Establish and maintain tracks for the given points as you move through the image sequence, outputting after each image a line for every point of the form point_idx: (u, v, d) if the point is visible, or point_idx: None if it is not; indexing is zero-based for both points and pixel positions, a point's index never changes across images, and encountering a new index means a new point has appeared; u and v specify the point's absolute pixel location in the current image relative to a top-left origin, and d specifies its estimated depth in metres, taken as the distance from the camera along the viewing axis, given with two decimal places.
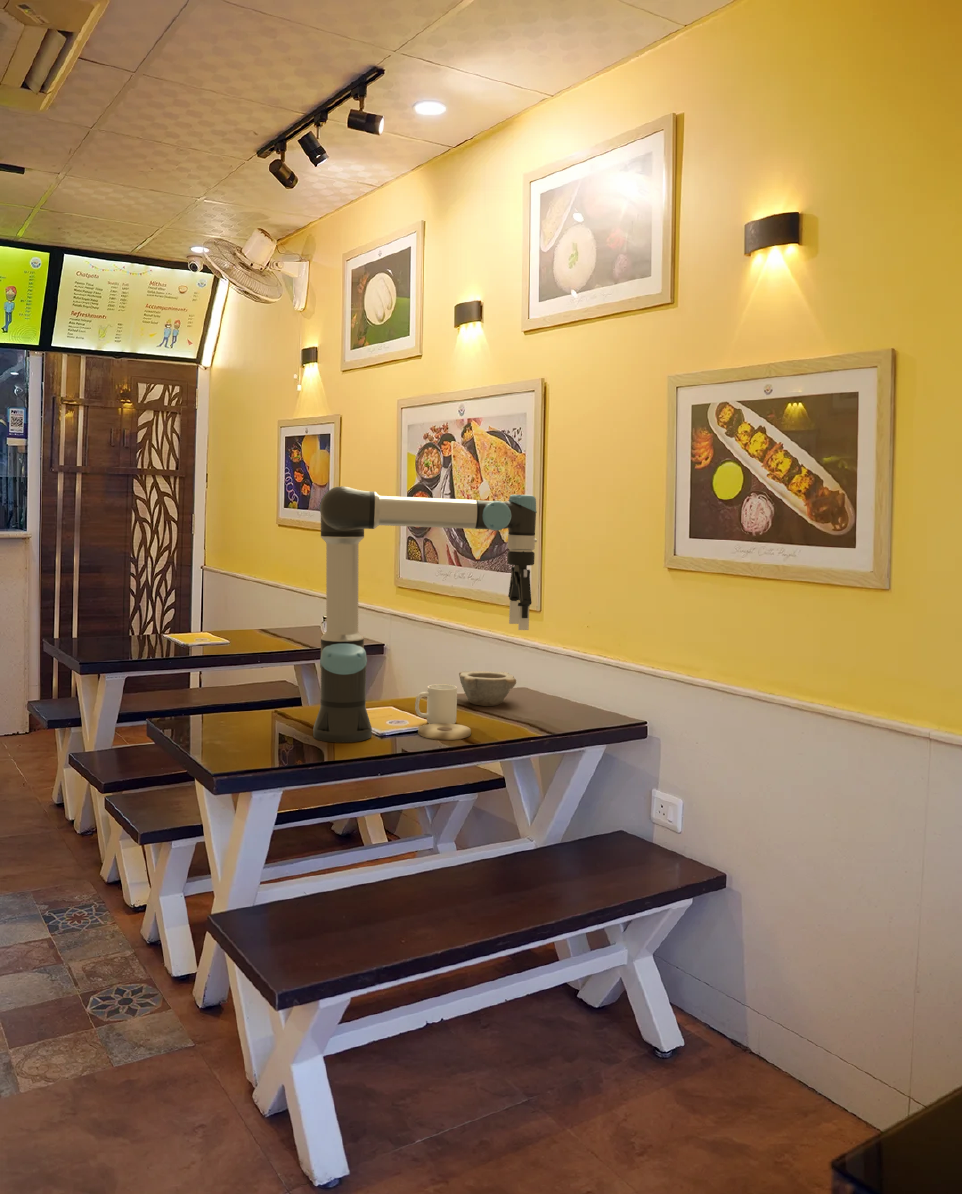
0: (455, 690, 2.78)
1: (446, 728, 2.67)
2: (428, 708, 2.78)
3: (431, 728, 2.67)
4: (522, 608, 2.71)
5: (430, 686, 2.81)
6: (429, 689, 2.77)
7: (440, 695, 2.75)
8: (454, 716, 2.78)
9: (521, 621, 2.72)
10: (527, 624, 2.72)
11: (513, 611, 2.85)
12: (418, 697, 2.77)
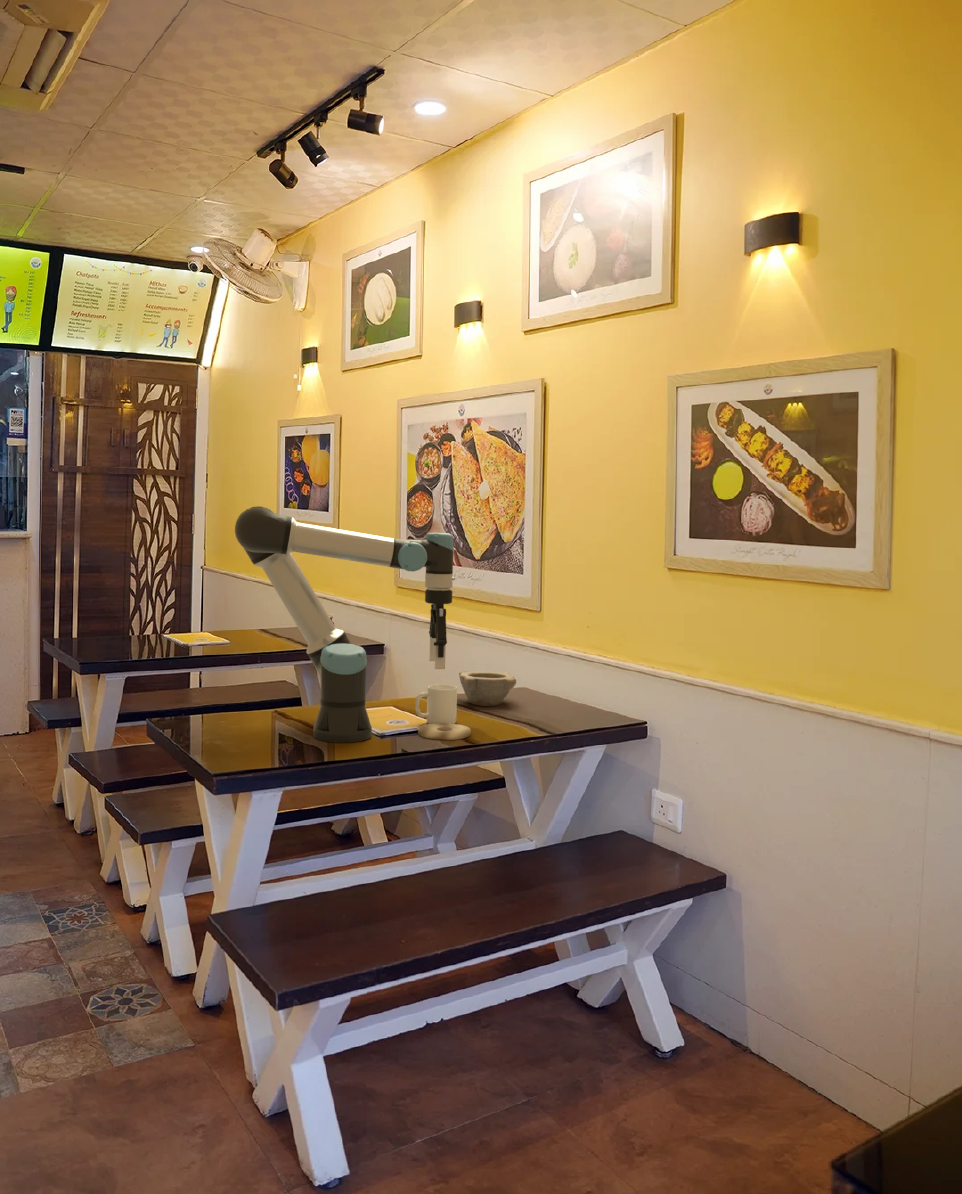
0: (455, 690, 2.78)
1: (446, 728, 2.67)
2: (428, 708, 2.78)
3: (431, 728, 2.67)
4: (438, 647, 2.70)
5: (430, 686, 2.81)
6: (429, 689, 2.77)
7: (440, 695, 2.75)
8: (454, 716, 2.78)
9: (437, 660, 2.71)
10: (443, 663, 2.71)
11: (433, 648, 2.84)
12: (418, 697, 2.77)
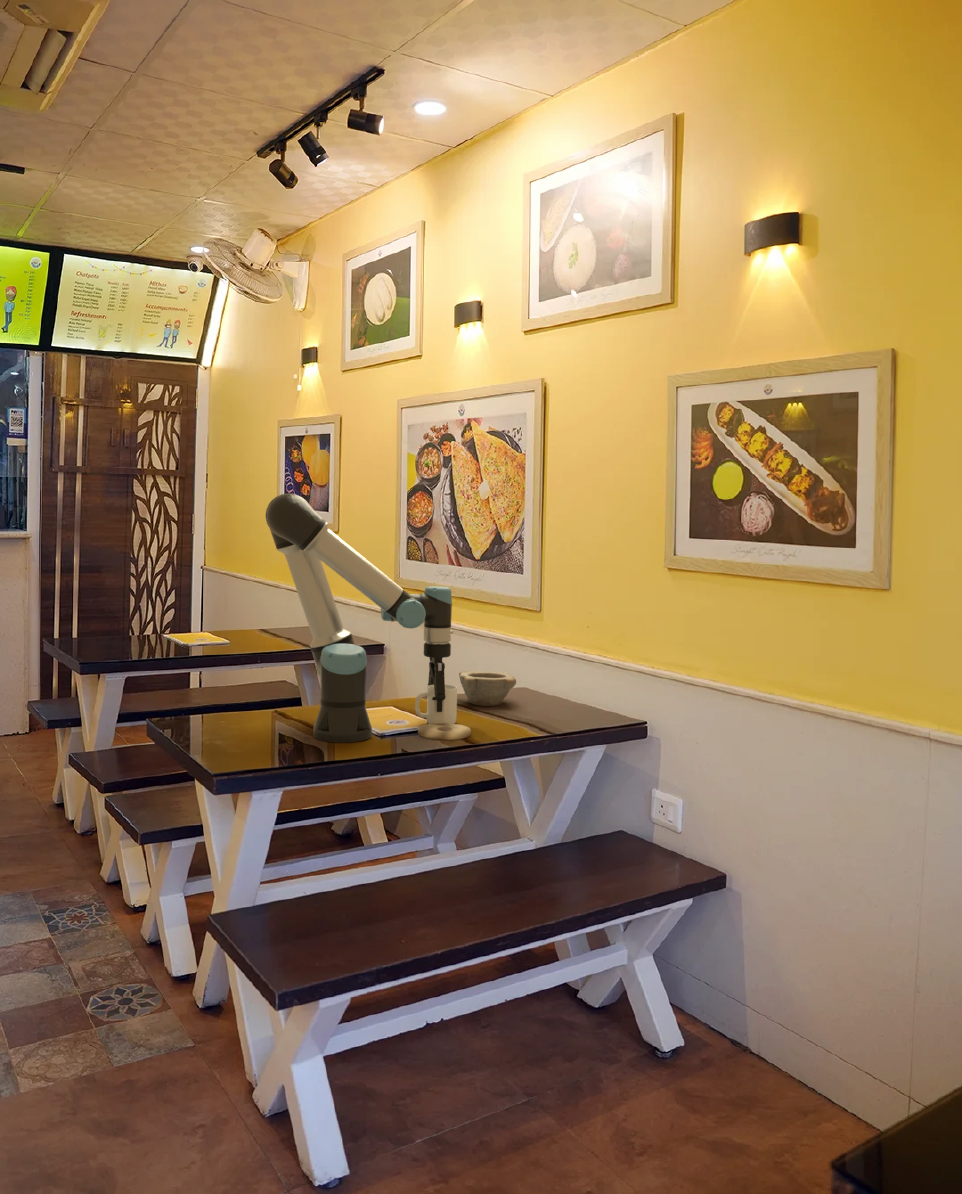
0: (455, 690, 2.78)
1: (446, 728, 2.67)
2: (428, 708, 2.78)
3: (431, 728, 2.67)
4: (437, 702, 2.71)
5: (430, 686, 2.81)
6: (429, 689, 2.77)
7: None
8: (454, 716, 2.78)
9: (436, 715, 2.72)
10: (442, 717, 2.73)
11: None
12: (418, 697, 2.77)
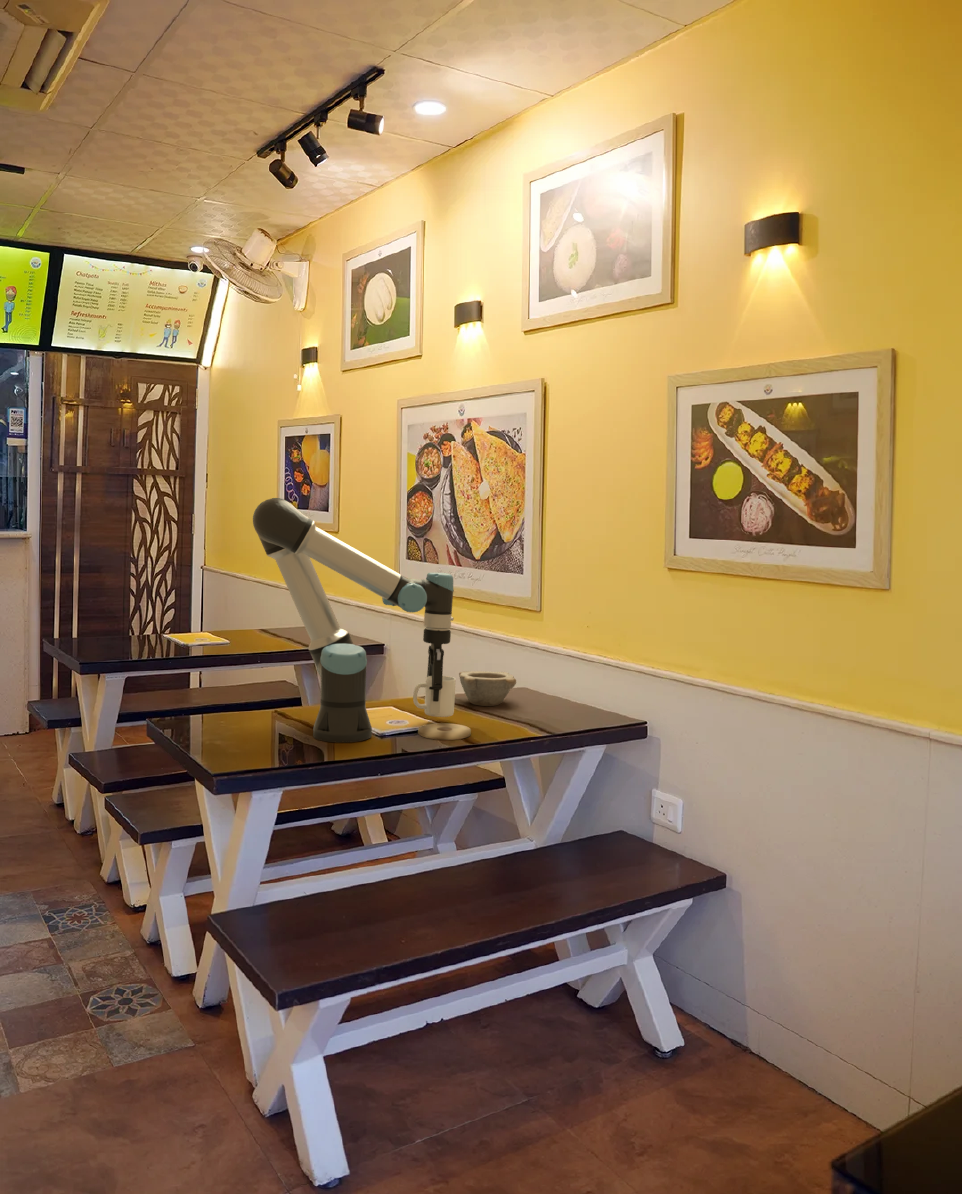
0: (454, 682, 2.77)
1: (446, 728, 2.67)
2: (426, 699, 2.77)
3: (431, 728, 2.67)
4: (433, 691, 2.73)
5: (428, 677, 2.80)
6: (427, 680, 2.76)
7: None
8: (452, 708, 2.77)
9: (432, 704, 2.74)
10: (438, 707, 2.74)
11: None
12: (416, 688, 2.76)
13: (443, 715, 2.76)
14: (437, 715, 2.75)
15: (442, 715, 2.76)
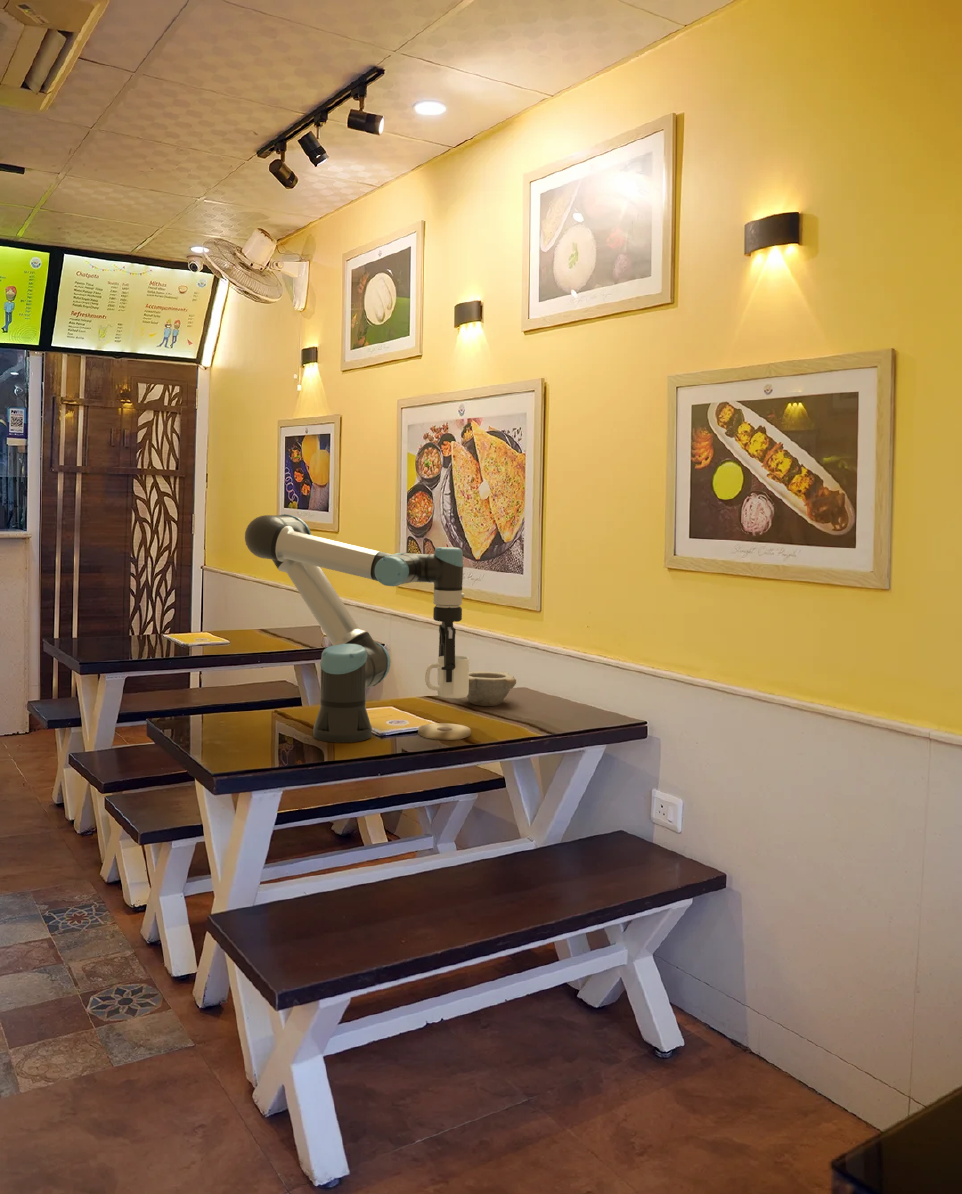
0: (467, 661, 2.64)
1: (446, 728, 2.67)
2: (439, 680, 2.64)
3: (431, 728, 2.67)
4: (446, 672, 2.60)
5: (440, 657, 2.67)
6: (440, 660, 2.63)
7: None
8: (466, 688, 2.64)
9: (445, 685, 2.61)
10: (452, 688, 2.61)
11: None
12: (428, 669, 2.62)
13: (457, 696, 2.63)
14: (451, 696, 2.62)
15: (456, 696, 2.62)
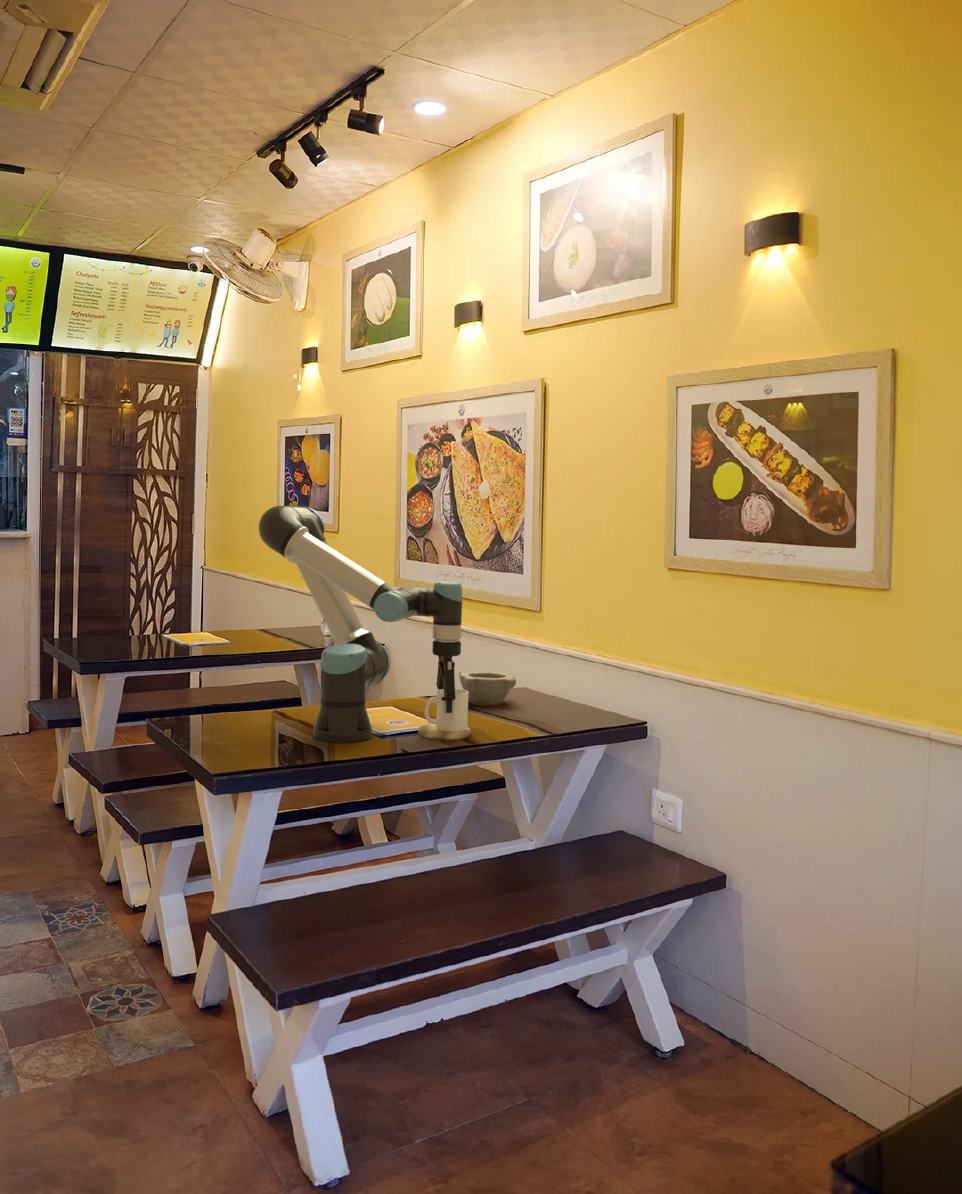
0: (466, 695, 2.65)
1: None
2: (438, 714, 2.65)
3: (431, 728, 2.67)
4: (446, 702, 2.58)
5: (440, 690, 2.68)
6: (439, 694, 2.64)
7: None
8: (465, 722, 2.65)
9: (445, 716, 2.59)
10: (452, 719, 2.60)
11: None
12: (428, 702, 2.63)
13: (456, 730, 2.63)
14: (450, 730, 2.63)
15: (455, 730, 2.63)
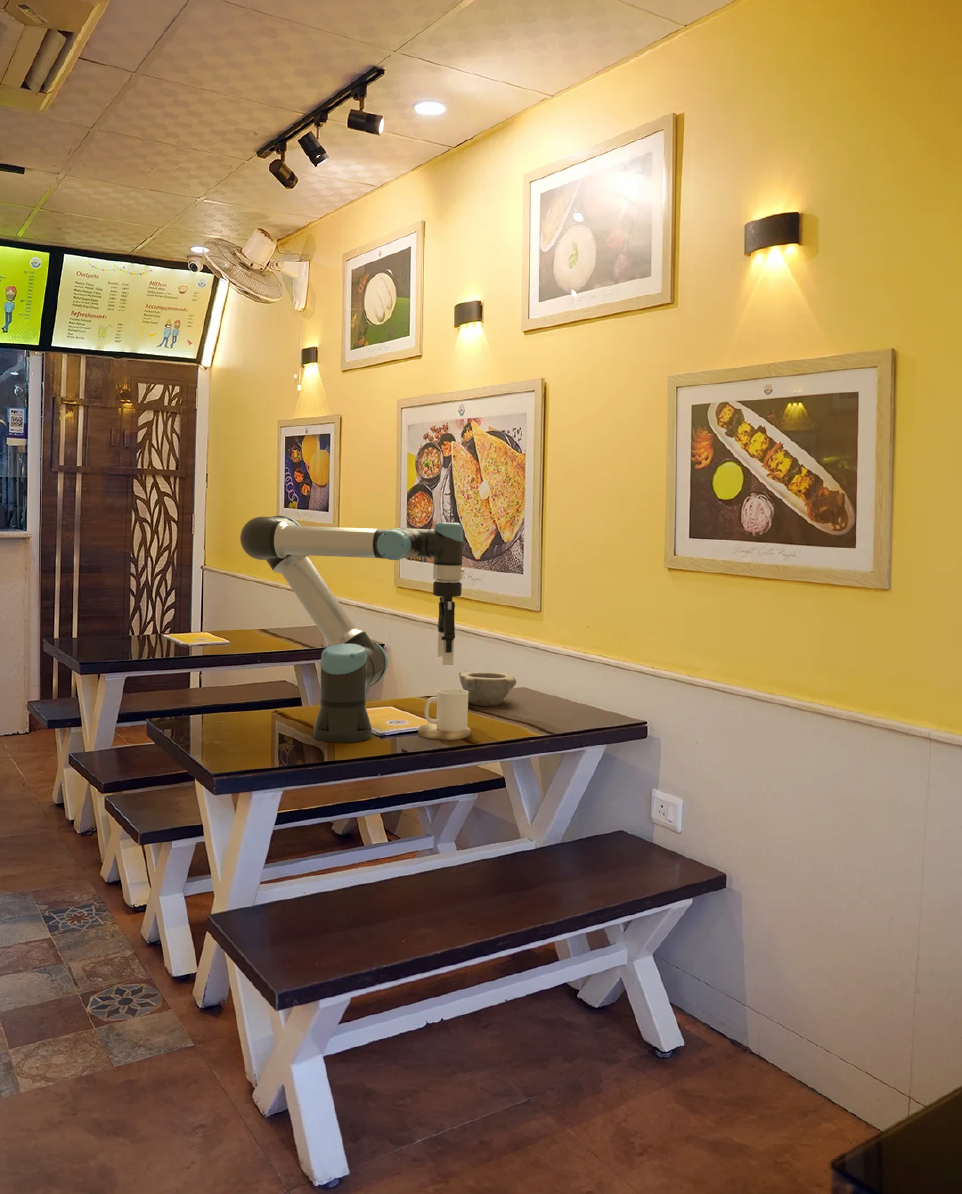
0: (466, 695, 2.65)
1: None
2: (438, 714, 2.65)
3: (431, 728, 2.67)
4: (446, 642, 2.58)
5: (440, 690, 2.68)
6: (439, 694, 2.64)
7: (451, 700, 2.62)
8: (465, 722, 2.65)
9: (445, 656, 2.59)
10: (451, 659, 2.59)
11: (442, 643, 2.72)
12: (428, 702, 2.63)
13: (456, 730, 2.63)
14: (450, 730, 2.63)
15: (455, 730, 2.63)
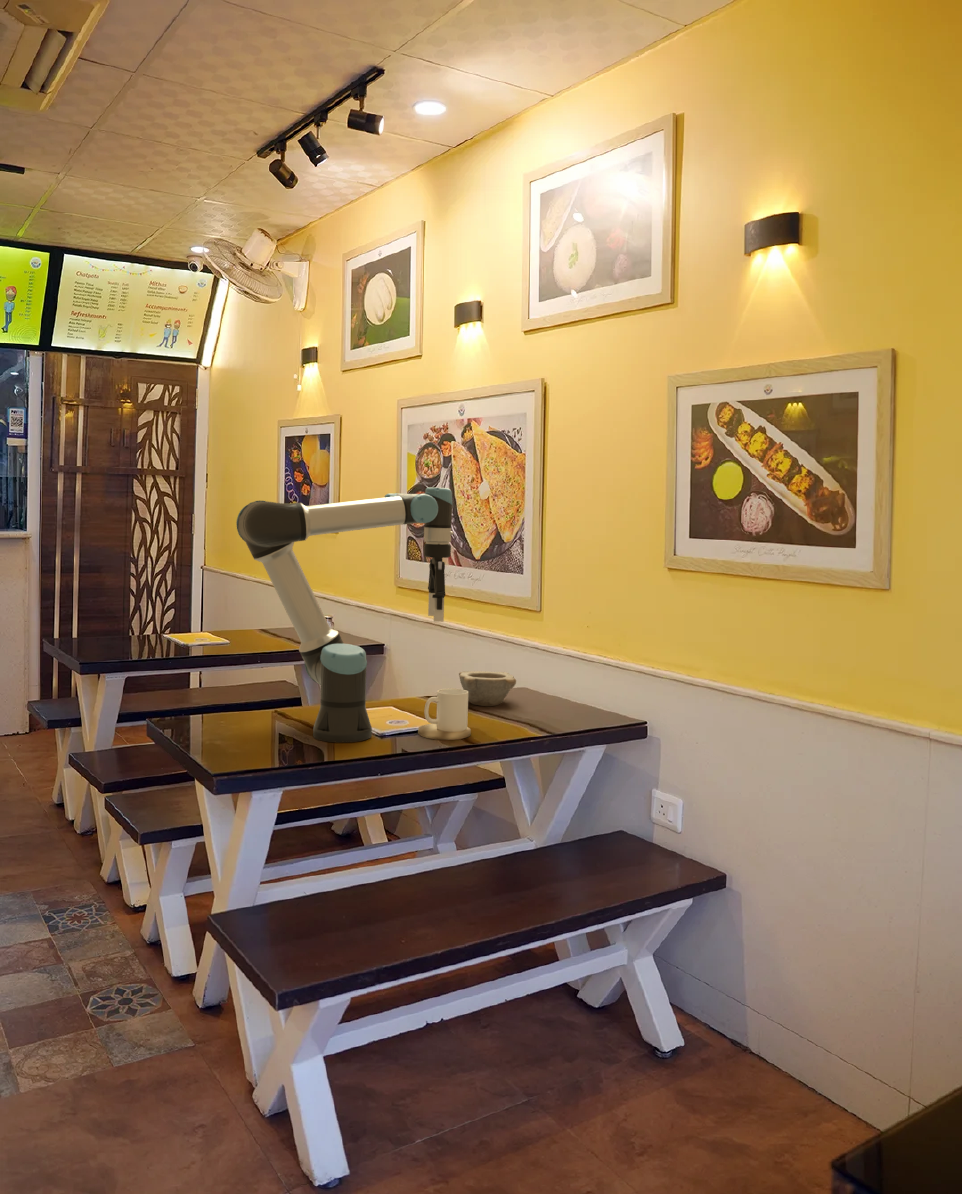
0: (466, 695, 2.65)
1: None
2: (438, 714, 2.65)
3: (431, 728, 2.67)
4: (437, 600, 2.73)
5: (440, 690, 2.68)
6: (439, 694, 2.64)
7: (451, 700, 2.62)
8: (465, 722, 2.65)
9: (436, 613, 2.74)
10: (442, 616, 2.75)
11: (432, 603, 2.88)
12: (428, 702, 2.63)
13: (456, 730, 2.63)
14: (450, 730, 2.63)
15: (455, 730, 2.63)
